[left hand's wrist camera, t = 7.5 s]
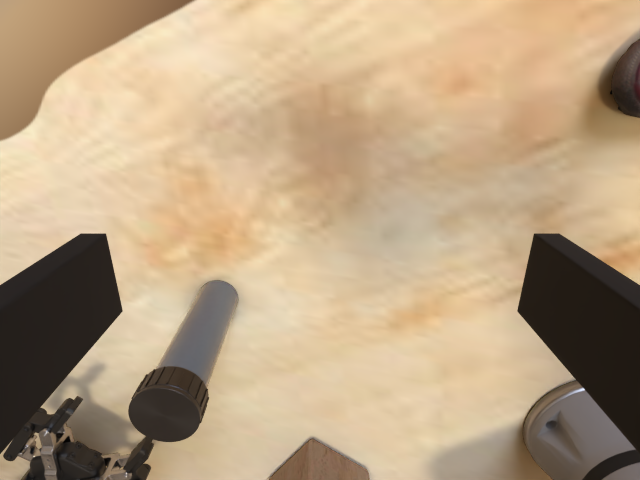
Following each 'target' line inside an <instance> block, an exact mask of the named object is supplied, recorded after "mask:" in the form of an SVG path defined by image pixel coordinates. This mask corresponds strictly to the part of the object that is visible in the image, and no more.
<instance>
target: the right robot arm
mask: <svg viewBox="0 0 640 480" xmlns="http://www.w3.org/2000/svg"><path fill="white" fill-rule="evenodd" d="M82 400H83V399H82V398H80V397H78V396H77V397H76V398H75V400H73V399H71V398H68V399H66V400H65V401H64V403H63V404H62V405H61V406H60V408H59V409H58V410H57V411H56V413H55V414H52V415H49V414H47V412H46V410H45V409H43V408H39V409H38V410H37V412H36V413H35V414H34V415H33V416H32V417H31V419H30V420H29V421H28V422H27V423H26V424H25V426H24V427H23V428H22V429H21V430H20V431H19V433H18V434H17V435H16V436H15V437H14V439H13V440H12V442H11V444H10V445H9V447H8V448H7V450H6V452H5V453H4V455H3V457H4V458H5V459H6V460H8V461H13V460H15V459H16V457H17V456H20V457H22V458H24V459H26V460H29V461H31V462H30V469H29V470H28V472H27V473H26V474H25V475H24V477H23V478H22V479H21V480H146V479H147V476H148V474H149V472H150V470H151V466H150V465H148V464H143V463H144V462H145V461H146V460H147V459H148V457H149V455H150V453H151V451H152V449H153V445H154V444H153V443H151V442H152V438H149V437H147V436H146V437H145V438H144V439H143V440H142V441H141V442H140V443H139V444H138V445H137V446H136V447H135V449H134V450H133V451H132V452H131V454H127V455H121V456H120V454H119V453H113V454H107V455H102V454H101V453H99V452H97V451H95V450H92V449H89V448H88V447H86V446H85V445H84V444H82V443H80V442H78V441H77V442H76V443H75V442H74V439H73V435H72V431H71V428H70V427H67V425H66V421H67V420H68V419H69V418H70V416H71V415H72V414H73V412H74V411H75V410H76V408H77V407H78V406H79V404H80V403H81V402H82ZM35 432H37V433H39V437H40V440H41V444H42V448H41V449H38V448H36V441H35V439H36V438H37V436H36V435H34V433H35ZM106 466H107V468H106ZM123 466H124V468H123V470H119V469H120V468H121V467H123Z"/></svg>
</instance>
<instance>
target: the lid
mask: <svg viewBox="0 0 640 480" xmlns="http://www.w3.org/2000/svg"><path fill="white" fill-rule="evenodd" d="M208 400H209V397H208V389H207V387H206V385H205V383H204V381H203V380H202V379H201V378H200V377H199V376H198V375H196V374H195V373H193V372H192V371H190V370H187V369H185V368H182V367H176V366H164V367H160V368H157V369H154V370H153V371H152V372H150V373H149V374H148V375H146V376H145V378H144V379H143V381H142V382H141V383H140V385H139V387H138V388H137V390H136V392H135V393H134V395H133V397H132V401H131V403H130V405H129V417H130V420H131V422H132V424H133V425H134V426H135V428H136V429H137V430H138V431H139V432H141V433H142V434H144V435H145V436H147V437H149V438H152V439H154V440H158V441H163V442H176V441H181V440H184V439H186V438H188V437H190V436H191V435H192V434H194V433H195V431H196V430H197V429H198V427H199V424H200V423H201V421H202V418H203V416H204V413H205V410H206V407H207V402H208Z"/></svg>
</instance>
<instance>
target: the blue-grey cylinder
mask: <svg viewBox="0 0 640 480" xmlns="http://www.w3.org/2000/svg"><path fill="white" fill-rule="evenodd" d="M237 304H238V294H237V292H236V290H235V289H234V288H233V287H232V286H231V285H230V284H228V283H226V282H224V281H218V280H216V281H210V282H208V283H206V284H205V285H204V286H203V287H202V288H201V290H200V291H199V293H198V295H197V297H196V298H195V300H194V302H193V304H192V306H191V307H190V309H189V311H188V313H187V314H186V316H185V318H184V320H183V321H182V323H181V325H180V327H179V329H178V330H177V332H176V334H175V336H174V337H173V339H172V341H171V343H170V345H169V346H168V348H167V350H166V352H165V353H164V355H163V357H162V359H161V360H160V362H159V364H158V366H157V368H160V367H164V366H176V367H182V368H185V369H187V370H190V371H192V372H193V373H195V374H196V375H198V376H199V377H200V378H201V379H202V380H203V381H204V383H205V385H206V387H208V384H209V381H210V378H211V376H212V373H213V370H214V367H215V365H216V362H217V359H218V356H219V354H220V351H221V348H222V345H223V343H224V340H225V337H226V334H227V332H228V329H229V326H230V323H231V320H232V318H233V315H234V312H235V309H236V307H237ZM157 368H156V369H157Z"/></svg>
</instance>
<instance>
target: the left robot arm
mask: <svg viewBox="0 0 640 480" xmlns="http://www.w3.org/2000/svg"><path fill="white" fill-rule="evenodd" d="M121 312H122V306H121V301H120V297H119V292H118V287H117V283H116V278H115V274H114V269H113V264H112V260H111V255H110V250H109V246H108V241H107V236H106V234H80V235H78V236H77V237H75V238H73V239H72V240H70V241H69V242H67V243H66V244H64V245H62V246H61V247H59V248H58V249H56V250H55V251H53V252H52V253H50V254H48V255H47V256H45V257H44V258H42V259H41V260H39V261H37V262H36V263H34V264H33V265H31V266H30V267H28V268H26V269H25V270H23V271H22V272H20V273H19V274H17V275H16V276H14V277H12V278H11V279H9V280H8V281H6V282H5V283H3V284H1V285H0V454H1V452H2V451H3V450H4V449H5V448H6V447H7V445H8V444H9V443H10V442H11V441H12V440H13V438H14V437H15V436H16V435H17V434H18V433H19V431H20V430H21V429H22V428H23V427H24V426H25V424H26V423H27V422H28V421H29V420H30V419H31V417H32V416H33V415H34V414H35V413H36V412H37V410H38V409H39V408H40V407H41V406H42V405H43V403H44V402H45V401H46V400H47V399H48V398H49V396H50V395H51V394H52V393H53V392H54V391H55V389H56V388H57V387H58V386H59V385H60V384H61V382H62V381H63V380H64V379H65V378H66V377H67V375H68V374H69V373H70V372H71V371H72V370H73V368H74V367H75V366H76V365H77V364H78V363H79V361H80V360H81V359H82V358H83V357H84V356H85V354H86V353H87V352H88V351H89V350H90V349H91V347H92V346H93V345H94V344H95V343H96V342H97V340H98V339H99V338H100V337H101V336H102V335H103V333H104V332H105V331H106V330H107V329H108V328H109V326H110V325H111V324H112V323H113V322H114V321H115V319H116V318H117V317H118V316H119V315H120V314H121ZM518 312H519V314H520V315H521V316H522V317H523V318H524V319H525V321H526V322H527V323H528V324H529V325H530V326H531V328H532V329H533V330H534V331H535V332H536V333H537V335H538V336H539V337H540V338H541V339H542V340H543V342H544V343H545V344H546V345H547V346H548V347H549V349H550V350H551V351H552V352H553V353H554V354H555V356H556V357H557V358H558V359H559V360H560V361H561V363H562V364H563V365H564V366H565V367H566V368H567V370H568V371H569V372H570V373H571V374H572V375H573V377H574V378H575V379H576V381H573V382H570V383H567V384H565V385H562V386H560V387H558V388H556V389H555V390H553V391H551V392H550V393H548V394H547V395H546V396H544V397H543V398H542V399H541V400H540V401H539V402H537V404H536V405H535V406H534V407H533V408H532V410H531V411H530V413H529V414H528V416H527V418H526V421H525V424H524V428H523V438H524V442H525V445H526V447H527V449H528V450H529V452H530V454H531V456H532V457H533V459H534V460H535V462H536V463H537V464H538V465H539V466H540V467H541V468H542V469H543V470H544V471H545V472H546V473H547V474H548V475H549V476H550V477H551V478H552V479H553V480H640V285H639V284H637V283H635V282H634V281H632V280H631V279H629V278H628V277H626V276H624V275H623V274H621V273H620V272H618V271H617V270H615V269H614V268H612V267H610V266H609V265H607V264H606V263H604V262H603V261H601V260H599V259H598V258H596V257H595V256H593V255H592V254H590V253H588V252H587V251H585V250H584V249H582V248H581V247H579V246H578V245H576V244H574V243H573V242H571V241H570V240H568V239H567V238H565V237H563V236H562V235H560V234H534V236H533V241H532V246H531V250H530V255H529V260H528V264H527V269H526V274H525V278H524V283H523V287H522V292H521V297H520V301H519V306H518Z"/></svg>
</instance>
